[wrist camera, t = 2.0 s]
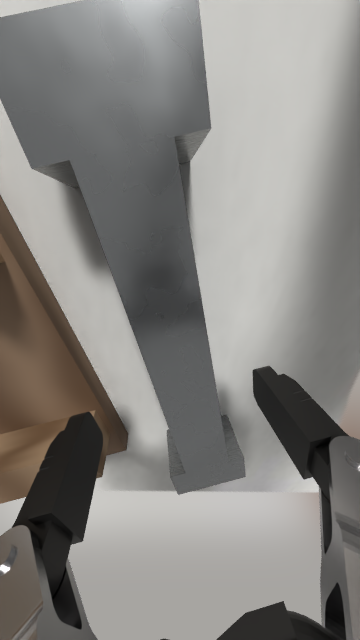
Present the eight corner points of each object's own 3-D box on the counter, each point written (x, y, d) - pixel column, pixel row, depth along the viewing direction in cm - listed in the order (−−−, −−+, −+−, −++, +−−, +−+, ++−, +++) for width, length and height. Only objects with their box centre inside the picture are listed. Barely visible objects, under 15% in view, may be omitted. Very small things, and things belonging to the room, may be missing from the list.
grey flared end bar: (177, 77, 9) (196, -23, 5) (229, 432, 21) (245, 476, 17) (43, 106, 9) (-34, 24, 5) (173, 447, 20) (178, 494, 17)
